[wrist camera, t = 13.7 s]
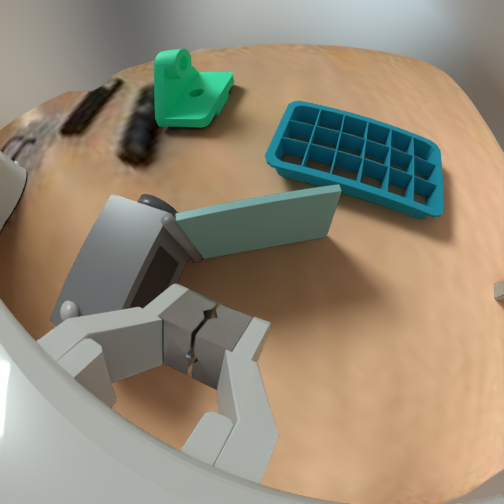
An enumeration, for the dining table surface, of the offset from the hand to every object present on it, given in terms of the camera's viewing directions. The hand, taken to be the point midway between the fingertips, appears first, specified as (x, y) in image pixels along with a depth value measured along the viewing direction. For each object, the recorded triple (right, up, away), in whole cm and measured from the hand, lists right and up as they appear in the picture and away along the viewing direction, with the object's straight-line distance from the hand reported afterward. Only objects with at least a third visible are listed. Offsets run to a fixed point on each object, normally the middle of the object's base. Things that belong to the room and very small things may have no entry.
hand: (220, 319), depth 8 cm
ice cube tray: (+14, +12, +22) cm, 28 cm away
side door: (+2, +3, +18) cm, 19 cm away
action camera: (-10, -1, +18) cm, 21 cm away
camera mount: (-7, +24, +28) cm, 37 cm away
